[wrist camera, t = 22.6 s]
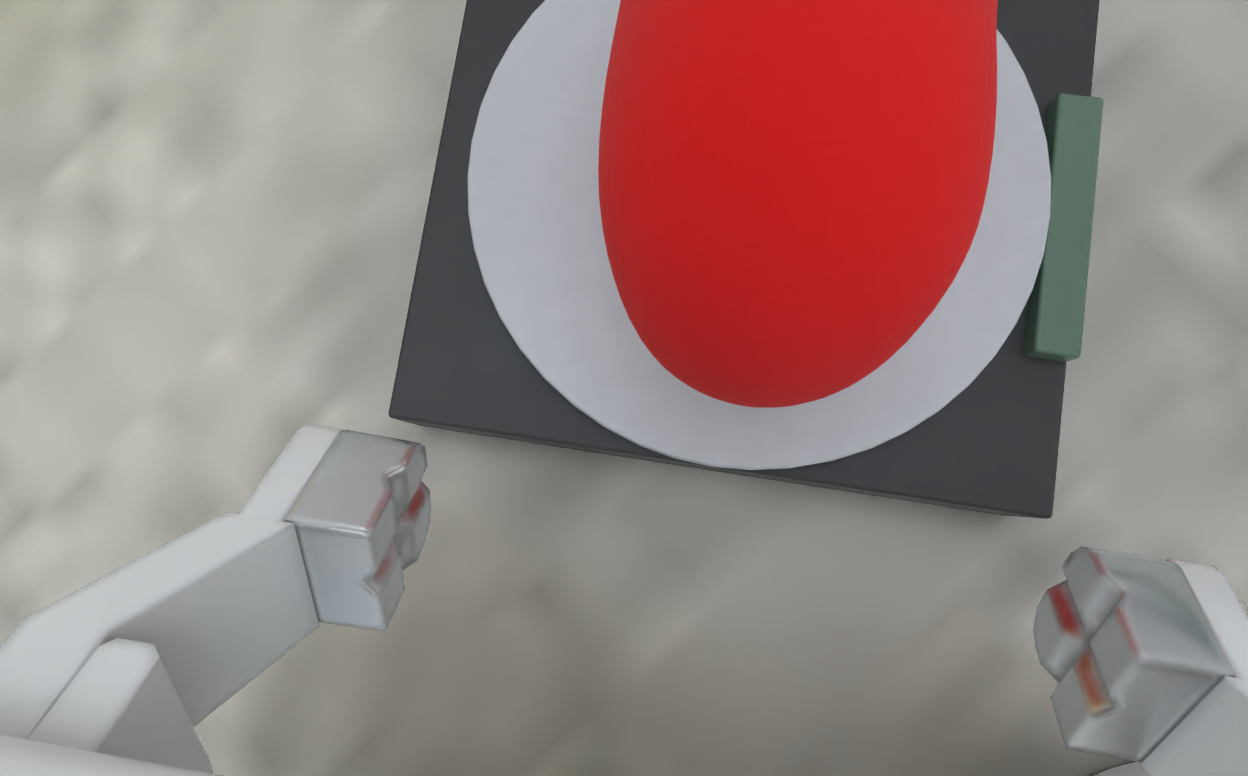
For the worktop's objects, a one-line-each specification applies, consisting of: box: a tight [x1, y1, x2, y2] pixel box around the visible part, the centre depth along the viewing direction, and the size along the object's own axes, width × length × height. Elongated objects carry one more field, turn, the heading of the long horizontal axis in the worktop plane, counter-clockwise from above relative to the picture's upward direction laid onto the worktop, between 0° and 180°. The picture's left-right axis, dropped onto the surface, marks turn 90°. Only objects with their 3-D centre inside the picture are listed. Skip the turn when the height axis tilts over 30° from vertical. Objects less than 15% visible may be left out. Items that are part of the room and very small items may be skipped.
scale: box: [389, 0, 1103, 518], centre depth 20 cm, size 15×13×3 cm
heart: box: [598, 0, 998, 408], centre depth 13 cm, size 12×5×10 cm, turn 170°
